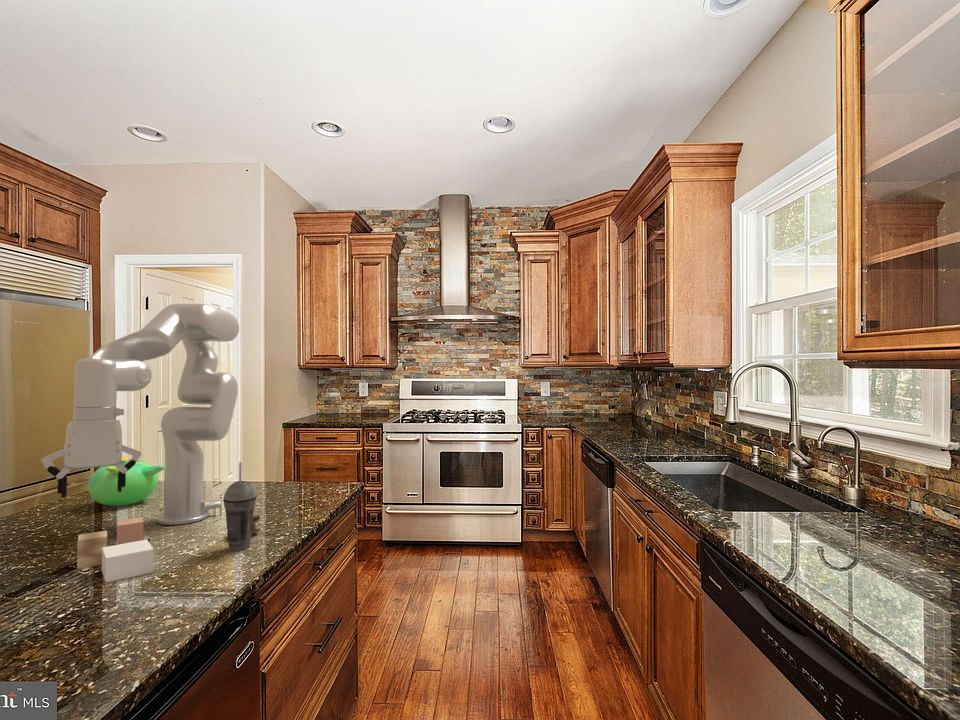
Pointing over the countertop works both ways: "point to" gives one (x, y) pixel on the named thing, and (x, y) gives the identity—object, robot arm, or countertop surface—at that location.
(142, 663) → the countertop surface
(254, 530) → the mushroom
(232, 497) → the beverage cup
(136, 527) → the terracotta block
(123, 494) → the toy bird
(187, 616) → the countertop surface
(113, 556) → the white block
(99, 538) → the oak block
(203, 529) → the countertop surface
